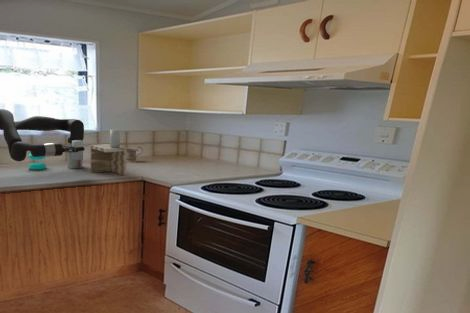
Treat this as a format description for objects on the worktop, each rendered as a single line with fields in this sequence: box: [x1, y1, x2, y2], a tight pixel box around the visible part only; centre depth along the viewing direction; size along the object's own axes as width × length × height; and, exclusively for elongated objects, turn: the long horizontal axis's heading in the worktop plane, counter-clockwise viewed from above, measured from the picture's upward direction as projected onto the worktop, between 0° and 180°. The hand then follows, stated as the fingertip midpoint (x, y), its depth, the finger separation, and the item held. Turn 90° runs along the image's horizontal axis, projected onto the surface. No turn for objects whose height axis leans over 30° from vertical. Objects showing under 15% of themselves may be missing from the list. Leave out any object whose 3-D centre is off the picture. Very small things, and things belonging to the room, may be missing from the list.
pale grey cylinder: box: [109, 129, 121, 148], centre depth 211 cm, size 6×6×11 cm
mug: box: [126, 146, 144, 164], centre depth 264 cm, size 14×10×12 cm
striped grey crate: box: [89, 143, 127, 176], centre depth 215 cm, size 20×14×18 cm
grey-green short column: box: [72, 140, 84, 160], centre depth 199 cm, size 6×6×11 cm
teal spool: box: [28, 153, 47, 171], centre depth 218 cm, size 10×10×10 cm
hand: (81, 148), depth 201 cm, fingers closed on grey-green short column, 6 cm apart
